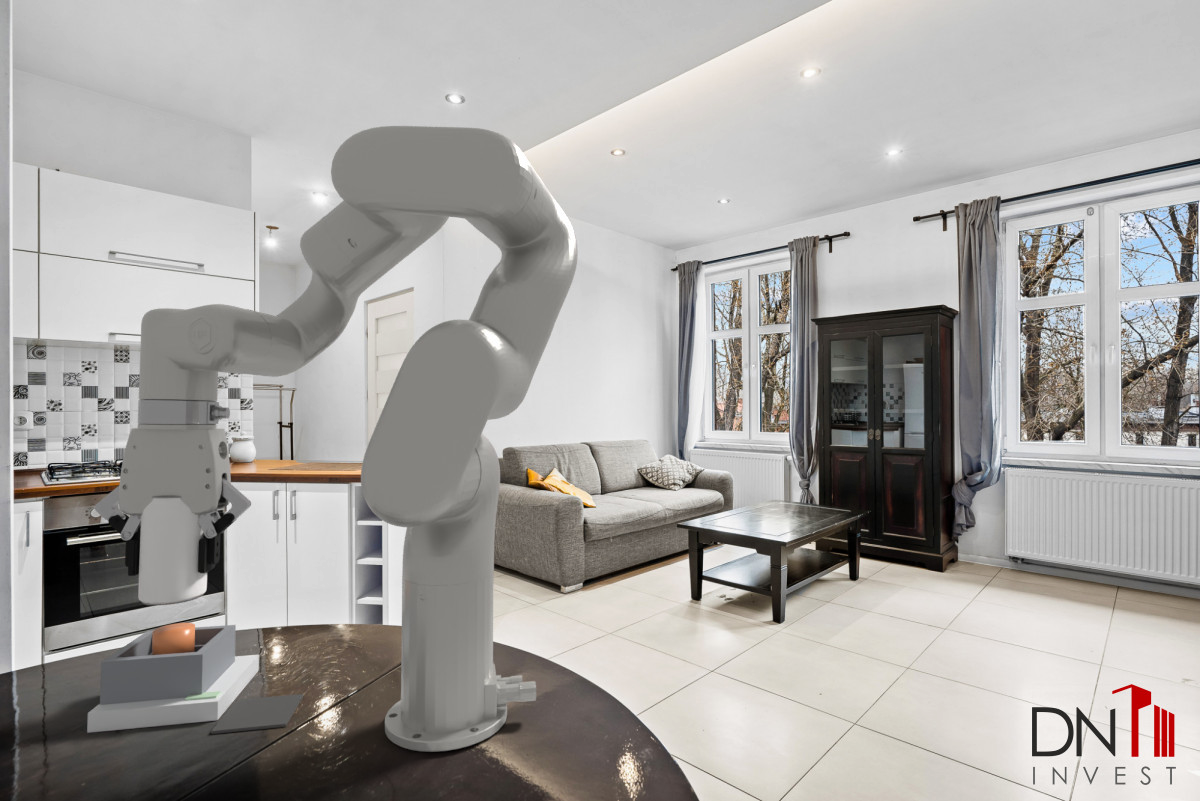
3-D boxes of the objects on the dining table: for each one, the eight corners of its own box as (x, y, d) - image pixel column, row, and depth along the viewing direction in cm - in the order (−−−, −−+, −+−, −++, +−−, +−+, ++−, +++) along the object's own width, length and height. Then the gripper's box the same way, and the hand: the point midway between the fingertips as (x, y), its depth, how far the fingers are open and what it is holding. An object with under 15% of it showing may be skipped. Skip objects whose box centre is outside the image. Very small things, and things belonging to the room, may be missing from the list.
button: (200, 647, 72) (201, 621, 72) (185, 660, 68) (185, 633, 68) (162, 649, 71) (163, 624, 71) (144, 663, 67) (145, 636, 67)
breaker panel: (258, 670, 77) (259, 619, 77) (217, 720, 64) (218, 658, 64) (152, 678, 74) (153, 625, 75) (87, 732, 62) (88, 668, 62)
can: (131, 598, 69) (135, 493, 70) (196, 586, 74) (199, 488, 74) (146, 610, 65) (150, 498, 65) (214, 597, 70) (217, 493, 70)
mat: (303, 696, 70) (303, 693, 70) (285, 726, 63) (285, 723, 63) (236, 702, 68) (236, 699, 68) (211, 734, 61) (211, 731, 61)
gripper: (270, 417, 76) (265, 561, 75) (111, 415, 72) (105, 566, 71) (248, 417, 68) (243, 577, 68) (71, 415, 65) (64, 584, 64)
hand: (173, 570), depth 70 cm, fingers closed on can, 6 cm apart
